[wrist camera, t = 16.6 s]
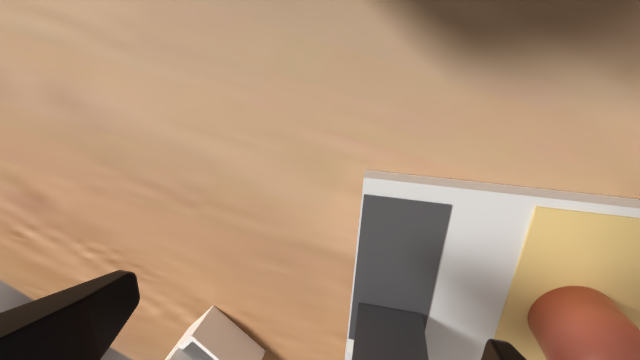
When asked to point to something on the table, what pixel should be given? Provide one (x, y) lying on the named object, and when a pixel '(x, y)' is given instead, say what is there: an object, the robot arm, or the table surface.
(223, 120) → the table surface
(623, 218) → the board
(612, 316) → the cap
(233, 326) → the white angled block
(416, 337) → the block
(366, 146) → the table surface
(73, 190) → the table surface
